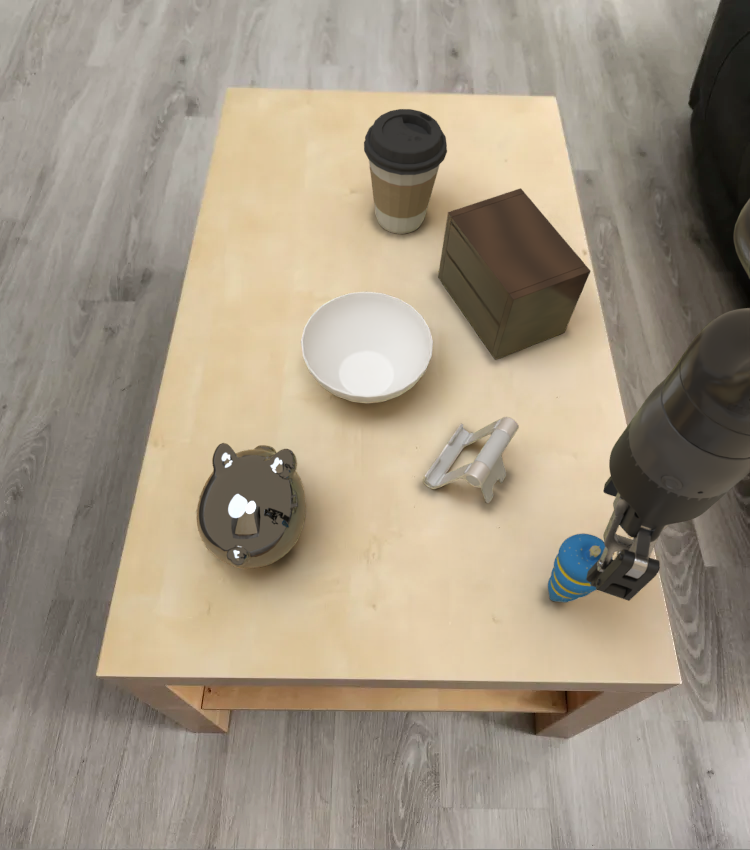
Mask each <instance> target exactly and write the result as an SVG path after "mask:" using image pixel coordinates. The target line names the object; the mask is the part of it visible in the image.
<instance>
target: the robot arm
mask: <svg viewBox="0 0 750 850" xmlns="http://www.w3.org/2000/svg"><path fill="white" fill-rule="evenodd" d="M733 244H734V248H735V253H736V255H737V258H738V259H739V262H740V264H741V265H742V268H743V269H744V271H745V273H746V275H747V277H748V279H749V280H750V198H748V200H747V201H746V203H745V204H744V206H743V207H742V208H741V210H740V212H739V214H738V217H737V219H736V221H735V224H734V228H733ZM608 466H609V467H608V469H609V474H610V476H609V477H608V479H607V480H606V481H605V483H604V486H603V493H604V494H606V495H609V496H612V497H614V500H613V502H612V506H613V510H612V513H611V515H610V518H609V520H608V522H607V525H606V527H605V530H604V531H603V541H604V545H605V549H604V551H603V553H602V556H601V558H600V559H599V560H598V561H597V562H596V563H595V564H594V565H593V566H592V567H591V568H590V569H589V571H588V573H587V578H586V580H587V581H588V582H591V586H594V587H596V590H595V591H597V592H601V593H603V594H607V595H610V596H613V597H617V598H619V599H622V600H625V601H628V602H630V601H631V600H632V599H633V598H634V597H635V596H636V595H637V594H638V593H639V592H640V591H642V590H643V589H644V588H645V587H646V586H647V585H648V584H649V583H650V582H651V581H653V579H654V578H655V577H656V576H657V575H658V573H659V572H660V570H661V569H660V568H661V566H660V565H661V562H660V560H658V559H656V558H654V557H653V558H652V557H651V555H652V553H653V550H654V548H655V546H656V544H657V542H658V540H659V537H660V535H661V533H662V532H663V531H665V530H667V529H668V527H669V525H673V524H674V525H675V524H679V523H685V522H688V521H691V520H694V519H696V518H699V517H700V516H702V515H703V514H704V513H706V512H707V511H708V510H709V509H710V508H712V507H713V506H714V505H715V504H717V502H718V501H720V499H721V498H723V497H724V496H725V495H726V494H727V493H728V492H729V491H731V490H732V489H733V488H734V487H735V486H736V485H737V484H739V483H740V482H741V481H742V480H744V478H746V476H748V475H749V473H750V307H747V308H746V307H745V308H736V309H732V310H729V311H726V312H724V313H722V314H719V315H718V316H716V317H714V319H712V320H711V321H709V322H708V323H707V324H706V325H705V326H704V327H703V328H702V329H701V330H700V331H699V333H697V335H696V336H695V337H694V339H693V340H692V341H691V342H690V344H689V345H688V347H687V348H686V350H685V351H684V352H683V354H682V355H681V357H680V358H679V359H678V361H677V362H676V364H675V365H674V367H673V368H672V369H671V371H670V372H669V373H668V375H666V377H665V378H664V379H663V380H662V381H661V382H660V383H659V384H657V386H656V387H655V388H654V389H653V390H652V391H651V392H650V393H649V394H648V396H647V398H646V399H645V400H644V401H643V403H642V404H641V406H640V407H639V409H638V410H637V412H636V413H635V415H634V416H633V418H632V419H631V420H630V421H629V423H628V424H627V426H626V428H625V429H624V430H623V432H622V433H621V435H620V436H619V438H618V439H617V440H616V442H615V444H614V445H613V447H612V449H611V452H610V455H609V461H608ZM619 527H620V528H621V529H622V530H623V531H624V532H625V533H626V534H627V536H629V537H630V538H629V537H625V536H623V535H620V534H617V532H618V529H619ZM615 553H616V556H615V558H613V556H614V554H615ZM611 558H612V559H611Z"/></svg>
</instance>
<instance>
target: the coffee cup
mask: <svg viewBox="0 0 750 850" xmlns="http://www.w3.org/2000/svg"><path fill="white" fill-rule="evenodd" d="M447 145H448V144H447V137H446V134H445V133H444V131H443V130H442V128H441V126H440V125H439V123H438V121H437V120H436V119H435V118H434V117H432V116H431V115H430V114H427V113H425V112H423V111H420V110H416V109H412V108H399V109H393V110H389V111H387V112H385V113H383V114H381V115H379V117H377V118H376V119H375V120H374V122H373V124H372V125H371V126H370V127H368V129H367V132H366V134H365V136H364V141H363V152H364V154H365V156H366V157H367V159H368V164H369V173H370V180H371V188H372V198H373V205H374V214H375V217H376V220H377V223H378V224H379V226H380V227H382V229H383V230H386V231H387V232H389V233H392V234H397V235H405V234H410V233H413V232H415V231H417V230H418V229H419V228H420V227H421V226H422V223H423V222H424V220H425V218H426V214H427V211H428V208H429V205H430V201H431V197H432V194H433V189H434V186H435V183H436V179H437V176H438V173H439V169H440V166H441V164H442V163H443V162H444V161H445V158H446V156H447V153H448V147H447Z"/></svg>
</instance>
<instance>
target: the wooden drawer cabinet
mask: <svg viewBox="0 0 750 850" xmlns="http://www.w3.org/2000/svg"><path fill="white" fill-rule="evenodd" d="M443 236H444V237H443V242H442V247H441V255H440V261H439V266H438V267H439V268H438V275H437V278H438V279H439V281H440V282H441V284H442V285H443V287H444V288H445V290H446V291H447V292H448V294H449V296H450V297H451V299H452V300H453V301H454V303H455V304H456V306H457V307H458V309H459V310H460V311H461V313H462V314H463V316H464V317H465V319H466V320H467V321H468V323H469V324H470V325H471V327H472V328H473V330H474V331H475V333H476V334H477V336H478V337H479V338H480V341H481V342H482V343H483V344H484V346H485V347H486V349H487V350H488V352H489V353H490V354H491V356H492V357H493V359H494V360H495V361H497V360H499V359H501V358H504V357H506V356H509V355H511V354H514V353H517V352H519V351H522V350H524V349H527V348H529V347H532V346H534V345H536V344H539V343H542V342H544V341H547V340H549V339H552V338H554V337H557V336H559V335H562V334H564V333H565V332H566V330H567V328H568V325H569V323H570V321H571V319H572V316H573V314H574V311H575V309H576V307H577V305H578V302H579V300H580V297H581V295H582V292H583V290H584V288H585V285H586V284H587V281H588V279H589V276H590V274H591V270H590V268H589V267H588V266H587V265H586V263H585V262H584V261H583V260H582V258H581V257H580V256H579V255H578V254H577V253H576V252H575V251H574V249H573V248H572V247H571V246H570V244H569V243H568V242H567V241H566V240H565V239H564V237H563V236H562V235H561V234H560V233H559V232H558V230H557V229H556V228H555V227H554V225H553V224H552V223H551V221H549V220H548V219H547V217H546V216H545V215H544V214H543V213H542V211H541V210H540V209H539V208H538V207H537V205H536V204H535V203H534V202H533V201H532V199H531V198H530V197H529V196H528V195H527V194H526V193H525V191H524V190H523V189H522V188H518V189H514V190H511V191H507V192H504V193H502V194H499V195H496V196H493V197H489V198H487V199H483V200H481V201H477V202H474V203H471V204H468V205H466V206H462V207H458V208H456V209H454V210H450V211H447V216H446V222H445V228H444V235H443Z"/></svg>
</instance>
